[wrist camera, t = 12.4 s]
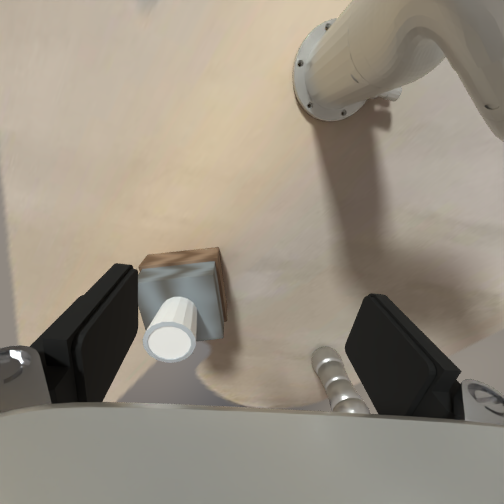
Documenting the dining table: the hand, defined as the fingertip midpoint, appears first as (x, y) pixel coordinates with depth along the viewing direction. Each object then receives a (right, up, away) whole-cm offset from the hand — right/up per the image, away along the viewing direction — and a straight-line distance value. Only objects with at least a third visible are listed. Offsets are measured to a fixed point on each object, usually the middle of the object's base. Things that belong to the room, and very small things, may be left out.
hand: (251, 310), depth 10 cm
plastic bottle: (+17, -21, +49) cm, 56 cm away
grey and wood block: (-12, -3, +39) cm, 41 cm away
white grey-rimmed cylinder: (-11, -7, +30) cm, 32 cm away
